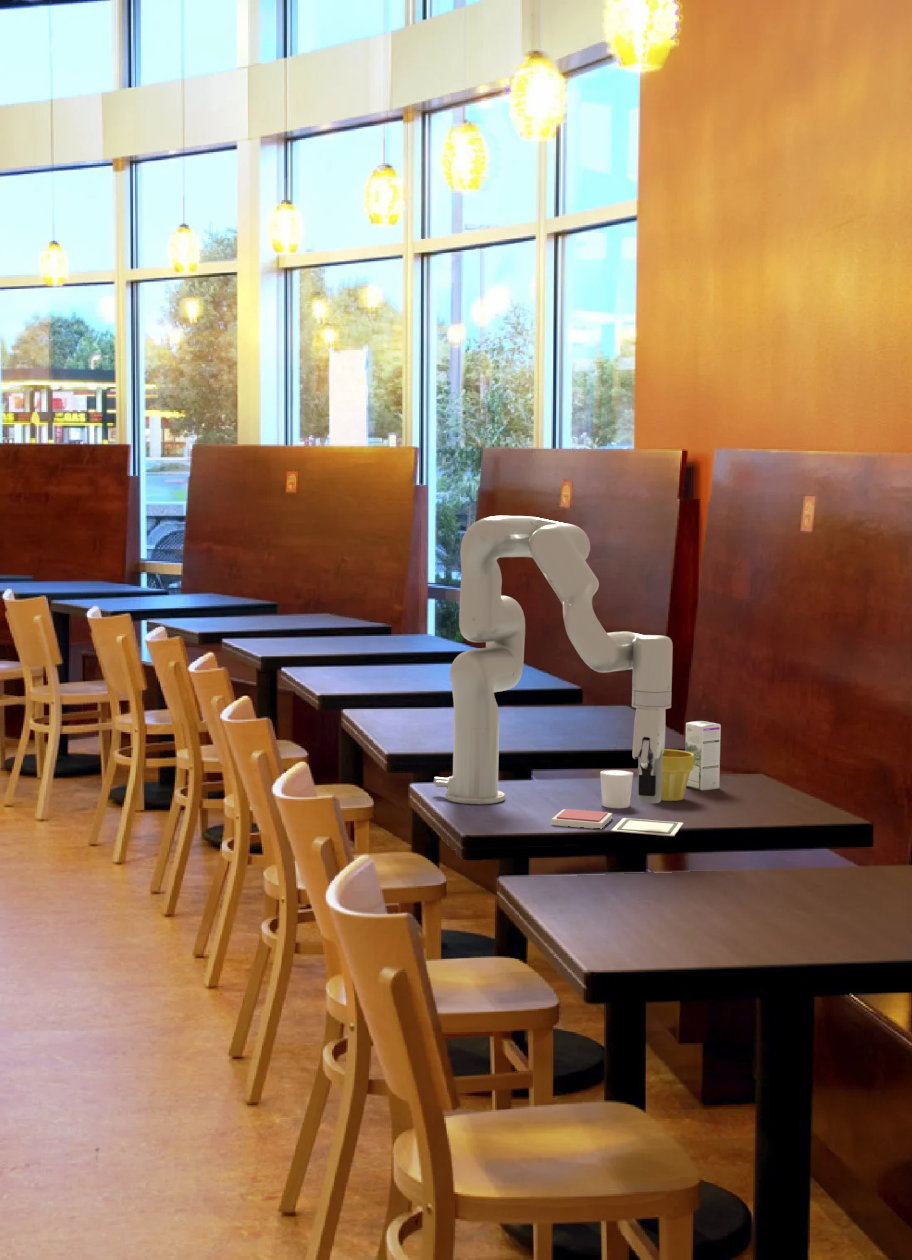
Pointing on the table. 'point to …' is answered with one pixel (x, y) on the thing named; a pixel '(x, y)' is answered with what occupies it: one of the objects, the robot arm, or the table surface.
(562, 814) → the ink pad
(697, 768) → the syrup box
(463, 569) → the robot arm
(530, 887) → the table surface
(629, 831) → the print card
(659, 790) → the grey cylinder
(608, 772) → the white cup
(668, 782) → the plant pot
